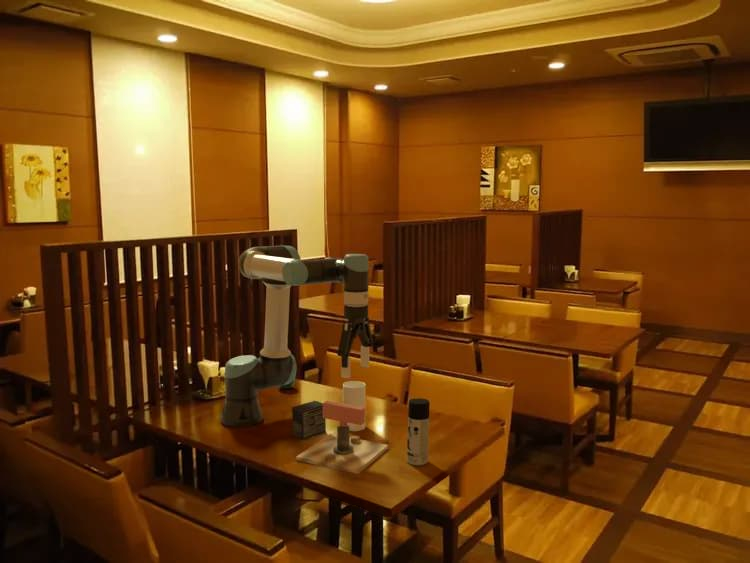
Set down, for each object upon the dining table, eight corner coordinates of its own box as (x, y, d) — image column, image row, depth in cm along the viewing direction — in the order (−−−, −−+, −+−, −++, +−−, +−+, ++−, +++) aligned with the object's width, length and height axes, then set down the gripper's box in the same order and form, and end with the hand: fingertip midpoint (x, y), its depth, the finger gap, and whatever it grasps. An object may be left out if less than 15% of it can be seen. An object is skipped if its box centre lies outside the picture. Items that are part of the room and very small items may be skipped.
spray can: (405, 457, 205) (406, 397, 202) (426, 457, 206) (427, 397, 203) (408, 466, 199) (409, 404, 196) (429, 465, 199) (431, 404, 196)
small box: (314, 427, 230) (315, 399, 229) (326, 432, 225) (326, 404, 224) (291, 435, 223) (291, 406, 221) (302, 440, 218) (302, 410, 217)
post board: (296, 460, 202) (296, 432, 201) (330, 436, 222) (330, 411, 220) (358, 474, 193) (358, 445, 191) (388, 448, 212) (388, 421, 211)
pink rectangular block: (322, 423, 207) (322, 403, 206) (326, 421, 210) (326, 400, 209) (361, 431, 202) (361, 409, 201) (364, 428, 204) (365, 407, 203)
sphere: (273, 390, 272) (273, 372, 271) (279, 384, 280) (279, 367, 278) (292, 391, 270) (291, 373, 269) (297, 386, 278) (297, 368, 277)
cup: (362, 432, 226) (362, 388, 224) (340, 430, 228) (340, 386, 226) (367, 424, 234) (367, 381, 232) (345, 422, 236) (345, 380, 234)
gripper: (348, 312, 182) (348, 384, 185) (383, 299, 205) (382, 363, 208) (325, 310, 185) (325, 380, 188) (362, 297, 208) (361, 361, 211)
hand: (355, 372), depth 198 cm, fingers open, 13 cm apart
